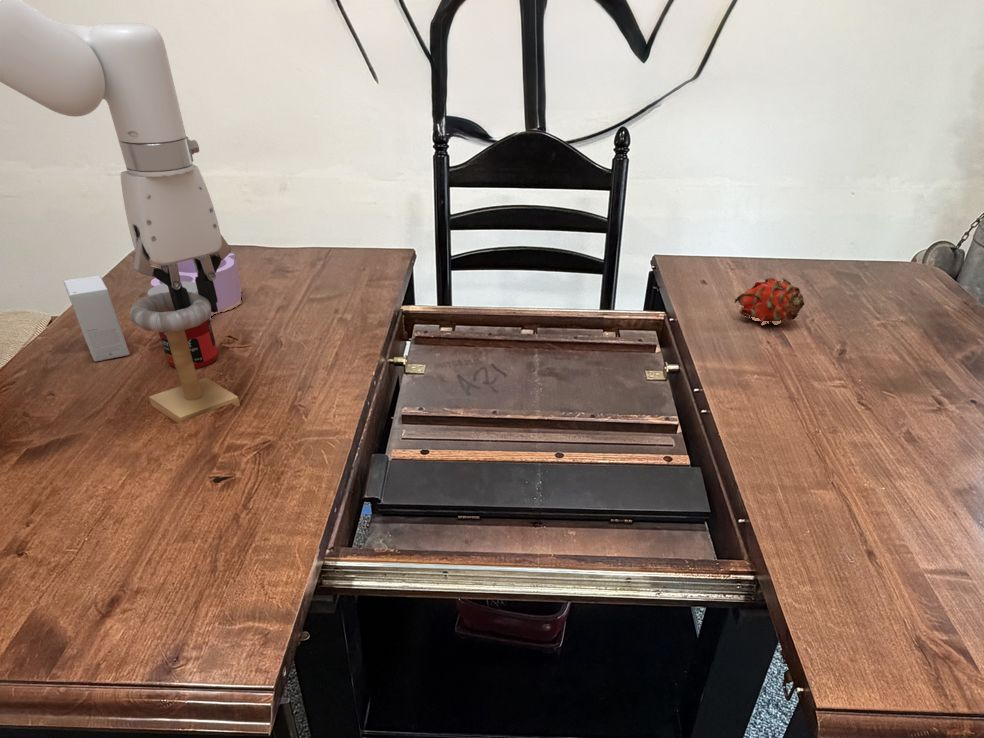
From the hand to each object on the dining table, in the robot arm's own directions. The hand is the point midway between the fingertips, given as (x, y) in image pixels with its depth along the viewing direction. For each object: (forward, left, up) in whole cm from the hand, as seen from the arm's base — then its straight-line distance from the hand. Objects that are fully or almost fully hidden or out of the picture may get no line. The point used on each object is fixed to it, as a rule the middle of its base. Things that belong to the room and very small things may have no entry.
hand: (198, 311), depth 97 cm
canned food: (+4, +15, -13) cm, 20 cm away
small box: (-4, +28, -13) cm, 31 cm away
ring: (-4, 0, +1) cm, 4 cm away
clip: (+17, +35, -13) cm, 41 cm away
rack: (-4, 0, -12) cm, 13 cm away
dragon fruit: (+86, -43, -13) cm, 97 cm away
